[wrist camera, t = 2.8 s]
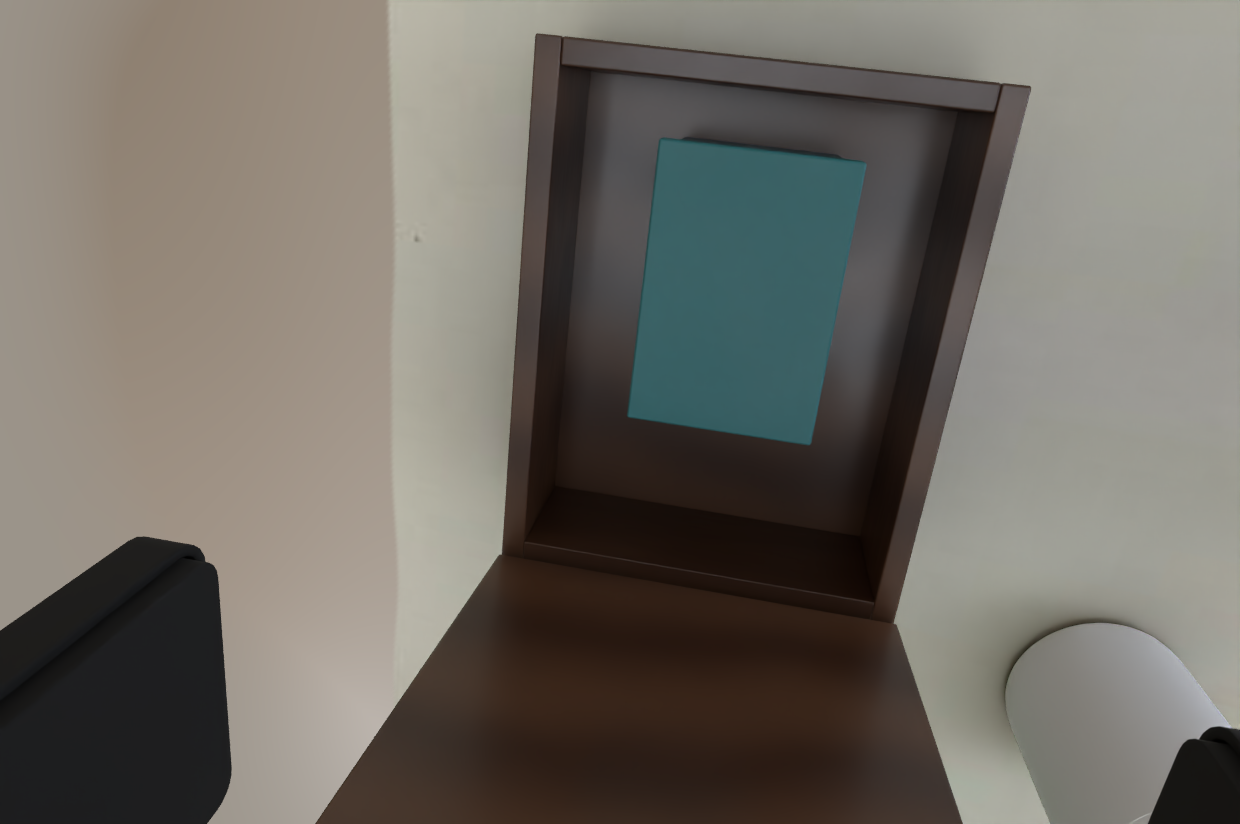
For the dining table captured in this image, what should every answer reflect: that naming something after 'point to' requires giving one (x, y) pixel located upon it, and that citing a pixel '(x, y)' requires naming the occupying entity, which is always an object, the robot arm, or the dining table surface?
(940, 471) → the dining table surface
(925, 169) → the chest
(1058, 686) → the pill bottle
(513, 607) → the chest lid
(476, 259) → the dining table surface
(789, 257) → the container
